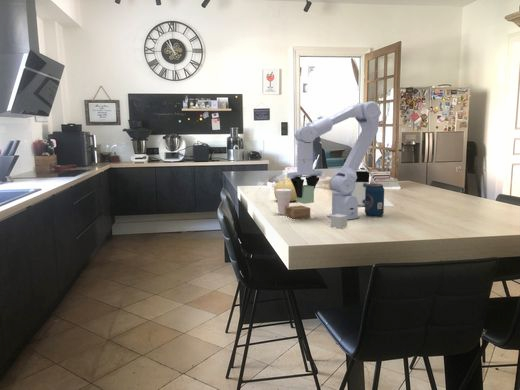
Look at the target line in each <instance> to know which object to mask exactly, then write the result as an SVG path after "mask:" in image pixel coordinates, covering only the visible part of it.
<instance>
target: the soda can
mask: <svg viewBox="0 0 520 390" xmlns="http://www.w3.org/2000/svg"><path fill="white" fill-rule="evenodd" d="M384 198H385V187H384V184H379V183H369V184H367V187H366V189H365V206H364V214H365V215H366V217H369V218H381V217H382V216H383V215H384V212H385V209H384V208H385V206H384Z"/></svg>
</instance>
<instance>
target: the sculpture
mask: <svg viewBox="0 0 520 390" xmlns="http://www.w3.org/2000/svg"><path fill="white" fill-rule="evenodd" d="M284 179H285V189H291V195H290V202H291V203H293V201H294V202H295V201H297V195H296V191H295V188H294V186H293V184H292V182H291V179H290V178H284ZM276 189H283V179H282V180H279V181H278V182H277V183H276V185H275V186H274V190H273V191H274V192H273V193H274V196H275V199H276V200H277V196H276V193H275V190H276Z"/></svg>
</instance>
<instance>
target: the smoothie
mask: <svg viewBox="0 0 520 390" xmlns="http://www.w3.org/2000/svg"><path fill="white" fill-rule="evenodd" d="M285 179H286V178H283V179H282V180H283V189H276V190H275V193H276V196H277V199H276V203H277V209H278V215H279V214H281V215H280V216H285V207H288V206H290V202H291V201H290V195H291V189H285Z"/></svg>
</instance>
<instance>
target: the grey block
mask: <svg viewBox="0 0 520 390" xmlns="http://www.w3.org/2000/svg"><path fill="white" fill-rule="evenodd" d="M330 215H331V214H330ZM346 226H347V227H348V220H347V215H341V214H335V215H331V217H330V228H333V227H336V228H335V229H339V228H341V229H344V228H343V227H345V228H347V227H346Z"/></svg>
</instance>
